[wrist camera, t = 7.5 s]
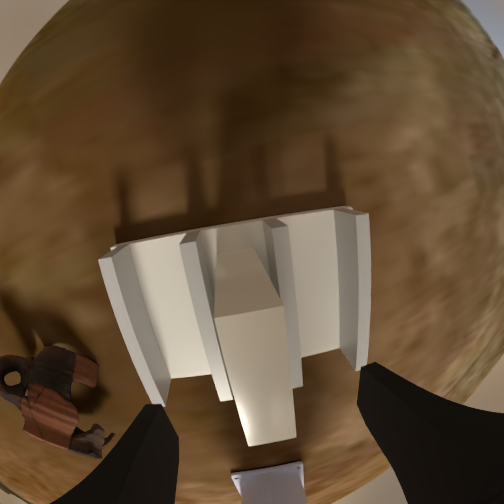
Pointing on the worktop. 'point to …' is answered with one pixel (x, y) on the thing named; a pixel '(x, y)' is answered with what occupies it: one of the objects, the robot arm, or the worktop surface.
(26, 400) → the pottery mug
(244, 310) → the beige rectangular block
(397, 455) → the robot arm
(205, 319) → the dish rack
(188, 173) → the worktop surface
